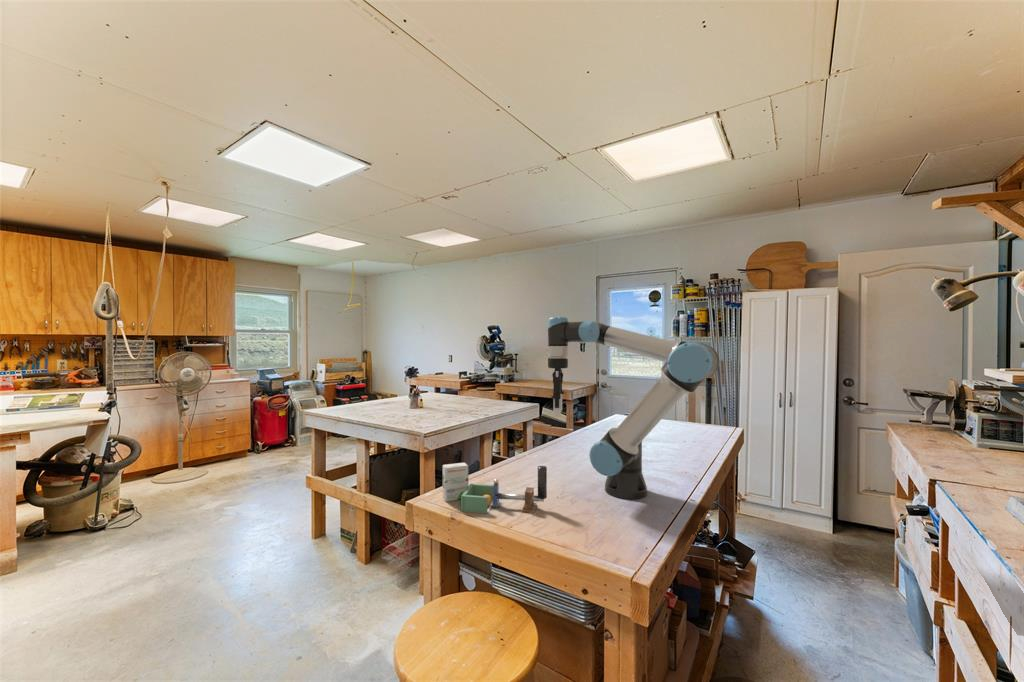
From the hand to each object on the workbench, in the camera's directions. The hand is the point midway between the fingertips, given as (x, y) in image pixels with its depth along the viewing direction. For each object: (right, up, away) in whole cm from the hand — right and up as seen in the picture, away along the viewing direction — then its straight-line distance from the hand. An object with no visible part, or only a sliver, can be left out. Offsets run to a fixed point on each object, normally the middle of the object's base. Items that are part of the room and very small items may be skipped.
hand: (558, 413), depth 149 cm
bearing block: (-12, -28, -18) cm, 36 cm away
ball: (-26, -27, -15) cm, 40 cm away
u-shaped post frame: (-15, -29, -17) cm, 36 cm away
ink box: (-38, -29, -8) cm, 48 cm away
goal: (-30, -29, -15) cm, 44 cm away
